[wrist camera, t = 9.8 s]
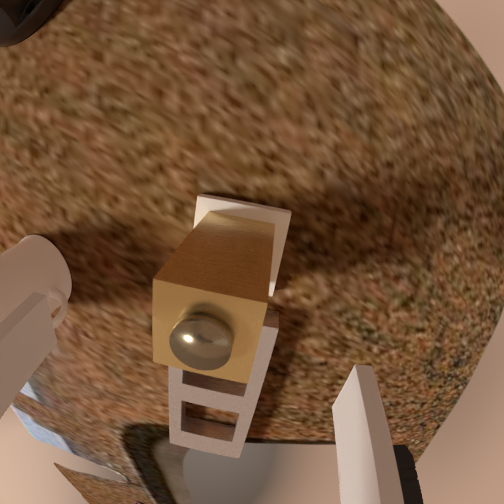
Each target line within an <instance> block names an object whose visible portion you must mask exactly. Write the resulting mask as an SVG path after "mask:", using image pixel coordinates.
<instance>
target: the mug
mask: <svg viewBox="0 0 504 504" xmlns="http://www.w3.org/2000/svg"><path fill="white" fill-rule="evenodd" d="M71 290H72V281H71V275H70V271H69V268H68V266H67V263H66V261H65V259H64V257H63V256H62V254H61V253H60V251H59V250H58V249H57V248H56V247H55V245H54V244H52V243H51V242H50V241H49V240H47V239H46V238H44V237H42V236H39V235H28V236H26V237H24V238H23V239H22V240H21V241H20V242H19V243H18V244H17V245H15V246H13V247H12V248H10V249H9V250H7V251H5V252H4V253H2V254H1V255H0V323H1V322H2V321H3V320H4V319H5V318H6V317H7V316H8V315H9V314H10V313H12V312H13V311H14V310H15V309H16V308H17V307H18V306H19V305H20V304H21V303H22V302H23V301H24V300H25V299H27V298H28V297H29V296H30V295H31V294H32V293H33V292H34V291H35V292H38V293H41V294H43V295H46V296H47V300H48V305H49V310H50V314H51V313H52V312H53V311H54V310H55V309H57V308H58V307H59V306H62V308H61V310H60V312H59V313H58V315H57V316H56V317H55V318H54V319H52V323H53V327H54V329H55V328H56V327H57V326H58V325H59V324H60V323H61V322H62V321H63V320H64V318H65V316H66V314H67V311H68V301H67V300H68V299H69V297H70V294H71Z"/></svg>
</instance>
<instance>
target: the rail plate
mask: <svg viewBox="0 0 504 504" xmlns="http://www.w3.org/2000/svg"><path fill="white" fill-rule="evenodd" d="M278 330H279V312H277V311H272V310H266V313H265V318H264V322H263V326H262V330H261V334H260V338H259V342H258V346H257V350H256V354H255V358H254V362H253V366H252V370H251V374H250V378H249V382H248V384H246V383H241V382H236V381H231V380H226V379H221V378H216V377H212V376H207V375H203V374H199V373H195V372H190V371H186V370H182V369H178V368H174V367H171V366H169V431H170V443H172V444H176V445H180V446H184V447H188V448H192V449H196V450H201V451H205V452H209V453H214V454H219V455H224V456H229V457H235V458H239V457H240V454H241V451H242V448H243V445H244V442H245V439H246V436H247V433H248V430H249V427H250V424H251V420H252V417H253V414H254V411H255V408H256V405H257V401H258V398H259V395H260V392H261V388H262V385H263V382H264V378H265V375H266V372H267V368H268V365H269V361H270V358H271V354H272V351H273V348H274V344H275V341H276V337H277V333H278ZM186 402H190V403H194V404H198V405H203V406H207V407H212V408H216V409H221V410H226V411H231V412H236V413H238V416H237V420H236V424H235V426H231V425H226V424H221V423H216V422H211V421H207V420H202V419H198V418H194V417H190V416H186Z"/></svg>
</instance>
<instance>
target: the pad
mask: <svg viewBox="0 0 504 504" xmlns="http://www.w3.org/2000/svg"><path fill="white" fill-rule="evenodd" d="M208 211H211V212H216V213H221V214H227V215H232V216H237V217H243V218H248V219H253V220H258V221H263V222H268V223H273V224H275V232H274V243H273V255H272V266H271V276H270V287H269V296H273V292H274V288H275V284H276V279H277V275H278V271H279V267H280V262H281V258H282V254H283V249H284V245H285V240H286V236H287V232H288V227H289V223H290V218H291V210H286V209H281V208H276V207H271V206H266V205H261V204H256V203H251V202H245V201H240V200H235V199H229V198H224V197H218V196H213V195H207V194H200V195H198V196H197V204H196V212H195V221H194V228H195V227H196V226H197V224H198V223H199V222H200V221H201V220H202V218H203V217H204V216H205V215H206V214H207V213H208Z"/></svg>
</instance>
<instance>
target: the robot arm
mask: <svg viewBox="0 0 504 504" xmlns="http://www.w3.org/2000/svg"><path fill="white" fill-rule="evenodd" d="M61 2H62V0H0V47H8V46H12V45H15V44H17V43H19V42H21V41H22V40H24V39H26V38H27V37H28V36H30V35H31V34H32V33H33V32H35V31H36V30H37V29H38V28H39V27H40V26H41V25H42V24H43V23H44V22H45V21H46V20H47V19H48V18H49V17H50V15H51V14H52V13H53V12H54V11H55V9H56V8H57V7H58V6H59V4H60V3H61ZM56 344H57V339H56V335H55V331H54V327H53V323H52V319H51V314H50V310H49V305H48V300H47V296H46V295H43V294H41V293H38V292H35V291H34V292H33V293H32V294H31V295H30V296H29V297H28V298H27V299H25V300H24V301H23V302H22V303H21V304H20V305H19V306H18V307H17V308H16V309H15V310H14V311H13V312H12V313H10V314H9V315H8V316H7V317H6V318H5V319H4V320H3V321H2V322H1V323H0V418H1V417H2V416H3V414H4V413H5V411H6V410H7V408H8V407H9V406H10V404H11V403H12V401H13V400H14V399H15V397H16V396H17V394H18V393H19V392H20V390H21V389H22V388H23V386H24V385H25V384H26V382H27V381H28V380H29V378H30V377H31V376H32V374H33V373H34V372H35V370H36V369H37V368H38V366H39V365H40V364H41V363H42V361H43V360H44V359H45V357H46V356H47V355H48V354H49V352H50V351H51V350H52V349H53V347H54V346H55V345H56ZM332 411H333V420H334V429H335V439H336V448H337V460H338V471H339V484H340V499H341V504H423V499H422V494H421V489H420V485H419V480H417V478H418V476H417V472H416V470H415V468H416V467H415V463H414V459H413V455H412V454H411V452H410V451H409V449H408V448H407V447H406V445H405V444H403V445H392V441H391V437H390V432H389V428H388V424H387V420H386V416H385V412H384V408H383V404H382V400H381V396H380V393H379V389H378V385H377V382H376V378H375V374H374V371H373V367H372V366H365V365H354V367H353V369H352V371H351V373H350V375H349V377H348V379H347V381H346V383H345V384H344V386H343V388H342V390H341V392H340V394H339V395H338V397H337V399H336V401H335V402H334V404H333V406H332Z"/></svg>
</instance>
